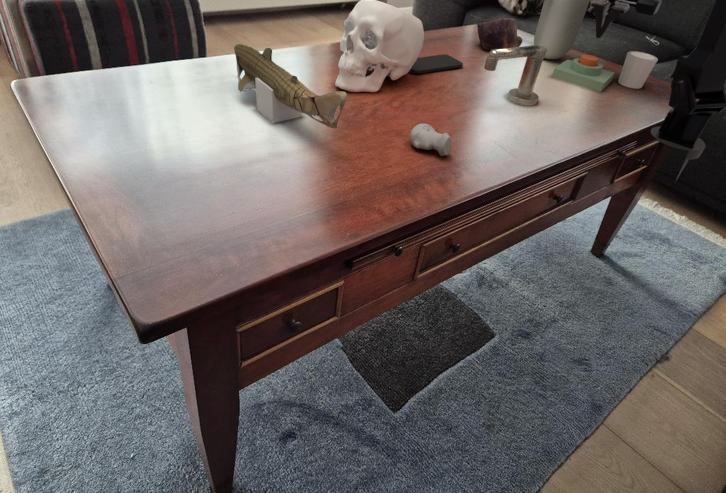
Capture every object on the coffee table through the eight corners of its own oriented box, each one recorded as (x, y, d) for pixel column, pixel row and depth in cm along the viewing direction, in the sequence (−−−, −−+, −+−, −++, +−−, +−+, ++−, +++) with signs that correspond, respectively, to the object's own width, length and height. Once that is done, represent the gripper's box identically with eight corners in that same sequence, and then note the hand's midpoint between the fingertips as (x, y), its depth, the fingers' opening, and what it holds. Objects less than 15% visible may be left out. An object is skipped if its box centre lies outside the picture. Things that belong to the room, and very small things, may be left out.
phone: (397, 60, 114) (446, 53, 121) (396, 63, 115) (445, 57, 121) (415, 71, 109) (465, 64, 116) (414, 75, 110) (464, 67, 117)
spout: (533, 59, 101) (539, 41, 99) (545, 65, 99) (551, 47, 97) (480, 66, 95) (484, 47, 93) (491, 72, 93) (496, 53, 91)
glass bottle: (544, 49, 134) (582, -69, 117) (574, 61, 128) (619, -61, 110) (521, 53, 130) (557, -69, 112) (551, 66, 124) (594, -61, 106)
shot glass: (623, 77, 122) (635, 49, 118) (649, 86, 119) (663, 57, 114) (610, 81, 119) (622, 53, 114) (636, 91, 115) (650, 62, 110)
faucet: (541, 100, 105) (555, 57, 100) (530, 108, 101) (544, 64, 95) (514, 91, 108) (526, 49, 102) (502, 98, 104) (515, 55, 98)
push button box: (611, 81, 119) (618, 65, 116) (600, 92, 113) (607, 75, 110) (564, 67, 124) (570, 51, 121) (551, 77, 117) (557, 60, 115)
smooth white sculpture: (403, 148, 85) (424, 134, 87) (434, 168, 80) (456, 152, 82) (400, 128, 82) (423, 114, 83) (433, 147, 77) (456, 132, 79)
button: (597, 65, 116) (600, 57, 115) (593, 68, 114) (596, 61, 113) (581, 60, 118) (584, 53, 117) (576, 64, 115) (579, 56, 114)
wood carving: (317, 168, 75) (319, 100, 68) (220, 87, 95) (214, 27, 88) (362, 154, 80) (369, 89, 73) (261, 80, 100) (258, 23, 93)
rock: (487, 46, 136) (465, 50, 130) (492, 13, 132) (469, 16, 126) (523, 52, 129) (501, 57, 123) (529, 17, 124) (507, 20, 118)
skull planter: (307, 72, 100) (343, -22, 94) (362, 96, 116) (396, 17, 111) (353, 95, 93) (395, -5, 88) (405, 117, 109) (443, 34, 104)
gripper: (681, -34, 103) (647, 41, 113) (594, -50, 111) (569, 22, 121) (671, -29, 96) (636, 51, 106) (580, -46, 104) (555, 30, 114)
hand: (598, 37), depth 112 cm, fingers closed
